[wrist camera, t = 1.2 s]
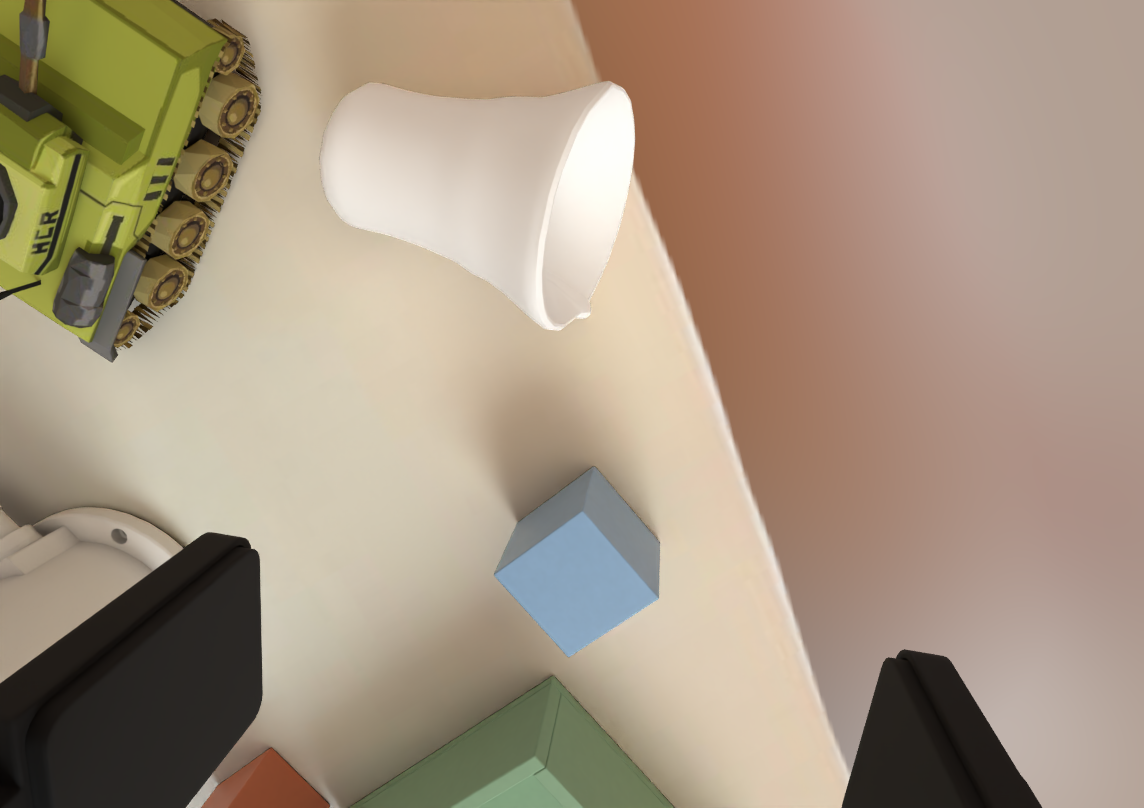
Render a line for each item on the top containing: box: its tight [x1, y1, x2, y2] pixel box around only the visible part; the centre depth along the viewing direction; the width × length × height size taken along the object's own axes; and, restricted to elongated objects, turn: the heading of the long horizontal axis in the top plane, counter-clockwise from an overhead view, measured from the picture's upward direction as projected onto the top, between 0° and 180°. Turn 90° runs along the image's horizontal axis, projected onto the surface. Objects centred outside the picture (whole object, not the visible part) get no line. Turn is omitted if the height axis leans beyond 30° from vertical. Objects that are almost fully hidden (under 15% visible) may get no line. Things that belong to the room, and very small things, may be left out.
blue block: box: [494, 466, 660, 657], centre depth 32 cm, size 5×5×5 cm
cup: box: [319, 81, 635, 330], centre depth 27 cm, size 9×9×10 cm
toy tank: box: [0, 0, 261, 362], centre depth 27 cm, size 8×15×10 cm, turn 146°
